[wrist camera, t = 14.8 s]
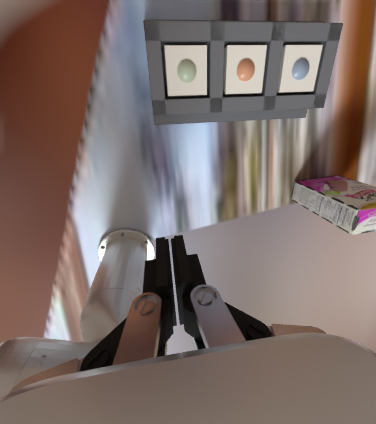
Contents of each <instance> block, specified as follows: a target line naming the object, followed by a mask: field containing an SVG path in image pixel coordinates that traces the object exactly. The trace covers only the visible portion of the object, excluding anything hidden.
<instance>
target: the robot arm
mask: <svg viewBox="0 0 376 424" xmlns="http://www.w3.org/2000/svg"><path fill="white" fill-rule="evenodd" d="M171 244H172V255H173V266H174V276H175V285H176V293H177V302H178V312H179V320H180V325H182V324H184V329H185V331H186V332H187V333H188V334H190V335H191V336H192V338H193V342H194V345H195V349H196V350H194V351H188V352H183V353H177V354H171V355H167V341H168V339H169V338H170V337H171V335H172V334H173V326H176V325H177V324H176V312H175V303H174V292H173V282H172V271H171V261H170V251H169V242H168V239H165V237H162V238H156V259H154V246H153V243H152V242H151V240H150V239H149V238H148V237H147V236H146V235H144V234H143V233H141V232H139V231H136V230H132V229H120V230H116V231H113V232H111V233H109V234H108V235H106V236H105V237H104V238H103V240H102V241H101V243H100V245H99V249H98V257H99V260H100V262H101V263H100V265H99V268H98V270H97V273H96V275H95V278H94V281H93V283H92V286H91V288H90V291H89V293H88V296H87V298H86V301H85V304H84V306H83V309H82V312H81V316H80V331H81V335H82V339H83V342H75V341H66V340H57V339H48V338H36V337H18V338H13V339H9V340H7V341H5V342H3V343H1V344H0V424H376V353H374V352H373V351H372V350H370V349H369V348H367V347H366V346H364V345H362V344H360V343H358V342H356V341H353V340H350V339H347V338H344V337H339V336H335V335H330V334H326V333H325V332H324V331H323V330H321V329H319V328H316V327H312V326H297V325H282V324H271V326H266V325H265V324H264V323H262V322H261V321H259V320H257V319H255V318H253V317H251V316H250V315H248V314H246V313H244V312H242V311H240V310H238V309H237V308H235V307H233V306H231V305H229V304H227V303H225V302H224V301H223V299H222V297H221V295H220V294H219V292H218V291H217V289H216V288H214V287H213V286H210V285H206V282H205V279H204V275H203V272H202V269H201V265H200V262H199V259H198V256H197V254H193V255H187V254H186V249H185V244H184V240H183V236H182V235H179V236H174V238H173V239H171Z"/></svg>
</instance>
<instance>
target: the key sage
mask: <svg viewBox="0 0 376 424" xmlns="http://www.w3.org/2000/svg"><path fill="white" fill-rule="evenodd" d="M164 62H165V75H166V89H167V98H176V97H203V96H205V95H207V45H164Z"/></svg>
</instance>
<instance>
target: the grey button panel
mask: <svg viewBox="0 0 376 424" xmlns="http://www.w3.org/2000/svg"><path fill="white" fill-rule="evenodd" d="M342 26H343V23H325V22H302V21H215V20H144V30H145V40H146V49H147V59H148V68H149V78H150V87H151V97H152V106H153V115H154V122H155V125H162V124H183V123H204V122H224V121H245V120H266V119H286V118H306V113H307V109H312V108H323V107H324V103H325V99H326V95H327V90H328V86H329V82H330V77H331V73H332V69H333V65H334V60H335V56H336V52H337V47H338V43H339V39H340V35H341V30H342ZM164 45H207V95H205V96H203V97H176V98H167V89H166V75H165V62H164ZM227 45H267V49H266V58H265V67H264V77H263V86H262V93H259V94H255V95H237V96H223V67H224V48H225V47H226V46H227ZM285 45H323V47H322V51H321V56H320V61H319V66H318V71H317V76H316V81H315V85H314V90H313V91H312V92H306V93H297V94H277V86H278V79H279V72H280V64H281V57H282V50H283V47H284V46H285Z"/></svg>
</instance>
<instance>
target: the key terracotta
mask: <svg viewBox="0 0 376 424" xmlns="http://www.w3.org/2000/svg"><path fill="white" fill-rule="evenodd" d="M266 49H267V45H227V46H226V47H225V48H224V67H223V96H237V95H255V94H259V93H262V86H263V77H264V67H265V58H266Z"/></svg>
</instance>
